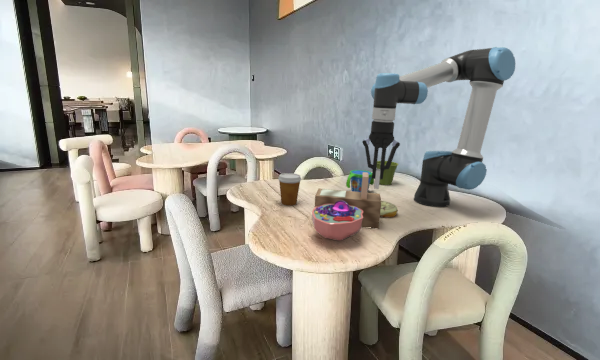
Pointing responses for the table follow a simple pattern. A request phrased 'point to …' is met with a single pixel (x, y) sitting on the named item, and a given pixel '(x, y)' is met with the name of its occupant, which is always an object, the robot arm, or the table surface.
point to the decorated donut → (388, 209)
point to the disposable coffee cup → (289, 188)
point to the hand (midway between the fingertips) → (376, 187)
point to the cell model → (337, 220)
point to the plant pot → (387, 173)
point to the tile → (364, 185)
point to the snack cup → (358, 180)
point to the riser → (353, 203)
